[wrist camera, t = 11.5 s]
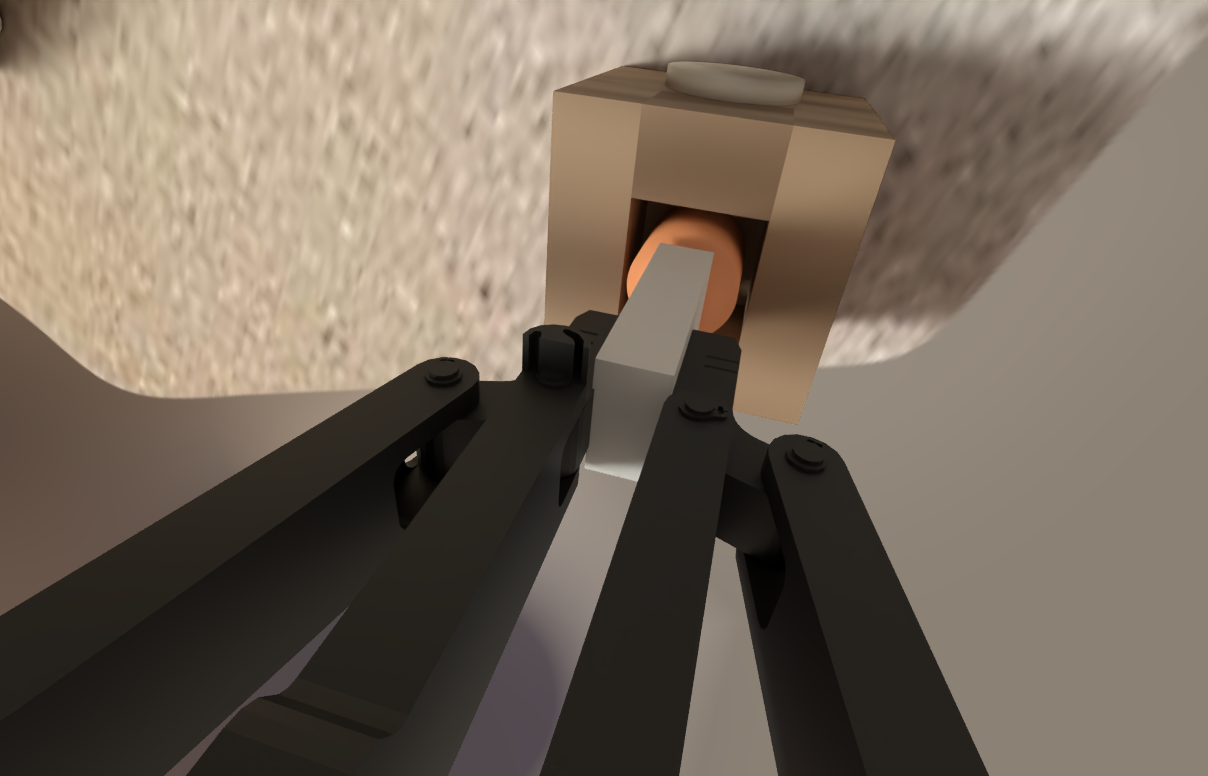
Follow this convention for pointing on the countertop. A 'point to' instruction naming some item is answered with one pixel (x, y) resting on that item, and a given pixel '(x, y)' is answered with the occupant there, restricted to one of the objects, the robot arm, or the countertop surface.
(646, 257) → the orange rounded cylinder
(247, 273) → the countertop surface
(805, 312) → the wooden box
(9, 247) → the countertop surface
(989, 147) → the countertop surface
